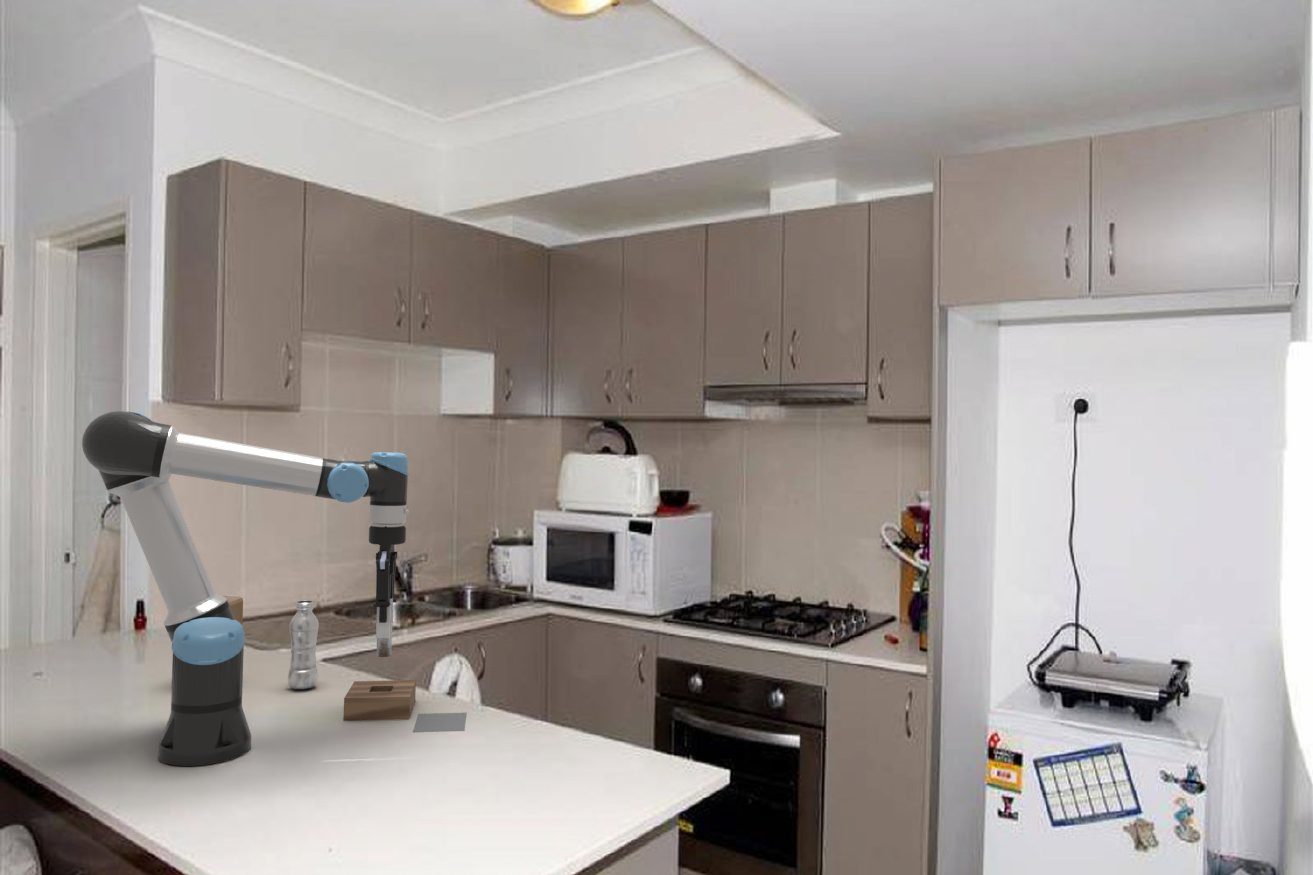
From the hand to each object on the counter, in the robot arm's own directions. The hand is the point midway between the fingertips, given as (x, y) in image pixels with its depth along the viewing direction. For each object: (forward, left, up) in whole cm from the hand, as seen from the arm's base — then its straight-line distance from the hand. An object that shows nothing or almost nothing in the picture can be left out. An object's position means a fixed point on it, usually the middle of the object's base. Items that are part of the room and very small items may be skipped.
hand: (384, 635), depth 190 cm
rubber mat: (-9, -13, -16) cm, 23 cm away
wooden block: (+24, +41, -17) cm, 51 cm away
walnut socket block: (0, 0, -16) cm, 16 cm away
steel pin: (0, 0, -4) cm, 4 cm away
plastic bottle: (+20, +20, -17) cm, 33 cm away
